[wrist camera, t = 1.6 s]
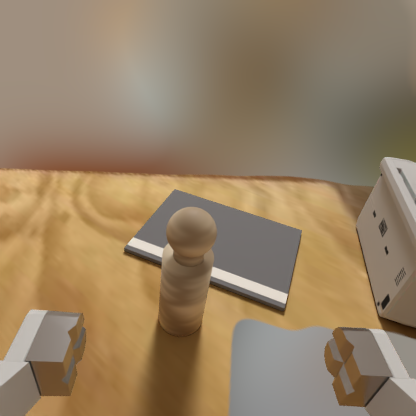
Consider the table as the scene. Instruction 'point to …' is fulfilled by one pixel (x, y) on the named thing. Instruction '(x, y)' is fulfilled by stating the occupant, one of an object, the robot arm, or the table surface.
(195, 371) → the table surface
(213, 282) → the mat
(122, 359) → the table surface
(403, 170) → the stereo radio cassette player
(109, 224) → the table surface
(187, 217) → the skittle
